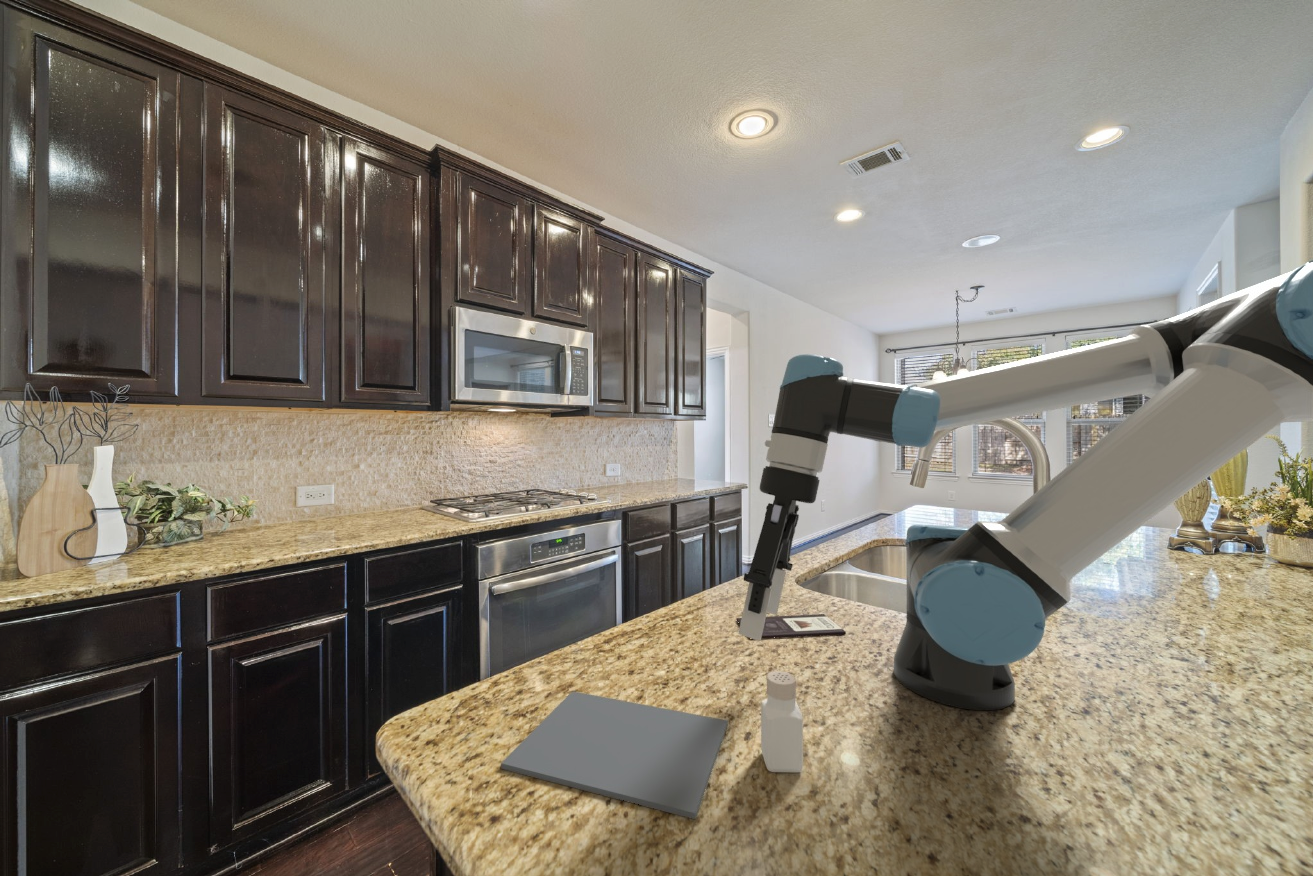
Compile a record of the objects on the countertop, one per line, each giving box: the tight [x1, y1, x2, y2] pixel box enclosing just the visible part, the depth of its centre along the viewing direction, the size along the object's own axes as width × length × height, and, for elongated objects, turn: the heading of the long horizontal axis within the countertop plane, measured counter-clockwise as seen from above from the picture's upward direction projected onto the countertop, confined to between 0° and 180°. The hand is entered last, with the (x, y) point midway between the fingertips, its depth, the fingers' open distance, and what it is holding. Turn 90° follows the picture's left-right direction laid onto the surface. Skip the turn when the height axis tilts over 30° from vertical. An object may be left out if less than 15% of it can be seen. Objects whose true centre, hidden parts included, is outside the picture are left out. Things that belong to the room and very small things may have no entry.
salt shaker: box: [760, 670, 804, 773], centre depth 54 cm, size 4×4×10 cm
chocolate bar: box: [735, 613, 847, 639], centre depth 93 cm, size 9×1×18 cm
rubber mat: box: [500, 690, 729, 820], centre depth 58 cm, size 22×16×1 cm
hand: (759, 623), depth 66 cm, fingers open, 13 cm apart
